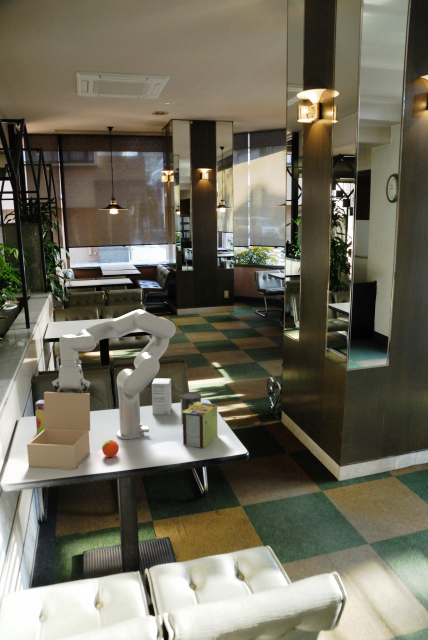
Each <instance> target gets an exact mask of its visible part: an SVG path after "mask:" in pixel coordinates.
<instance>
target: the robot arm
mask: <svg viewBox="0 0 428 640" xmlns="http://www.w3.org/2000/svg"><path fill="white" fill-rule="evenodd" d="M137 330H141V331H142V332H145V333H148V334H150V335H152V337H151V339H150V341H149V342H148V343H147V344H146V346H144V348H143V349H142V350H141V351H140V352H139V353H137V355H136V357H135V358H134V360H133V366H134V367H135V368H134V370H133V369H132V368H124V369H122V370H121V371H119V373H118V374H117V376H116V384H117V395H118V412H119V413H118V414H119V415H118V417H119V430H117V432H116V436H117V438H119V439H123V440H134V439H139V438H141V437H143V436H144V433H149V432H150V428H149V427H148V426H143V423H141V411H140V410H141V407H140V394H141V392H143V391H144V390H145V388H146V387H147V386H148V385H149V384H150V383H151V382H153V380H154V378H155V377H156V376H157V375H158V373H159V370H160V365H161V364H160V361H159V360H160V359H161V358H162V356H163V355H164V353H165V352H166V351H167V349H168V346H169V344H170V339H171V338H173V336H174V335H175V334H176V332H177V328H176V325H175V323H174V322H172V321H171V320H170V319H167V318H165V317H162V316H157V315H155V314H152V313H150V312H148V311H147V310H143V309H140V308H139V309H136V310H133V311H130V312H128V313H125V314H123V315H121V316H119V317H117V318H113V319H111V320H108V321H104V322H101V323H97V324H95V325H92V326H90V327H88V328H87V327H86V328H84V329H82V330H81V331H79V332H77V334H76V335H75V334H63V335H61V336H60V337H59V352H60V355H59V356H60V365H59V369H58V378H57V379H54V380H52V381H51V384H52V385H53V387H54V389H55V390H56V392H62V393H65V392H64V389H74V390H75V389H78V390H79V391H80V393H86V391H87V390H88V389H89V387H90V385H91V381H89V380H87V379H85V378H84V372H83V369H82V365H81V364H82V363H83V361H82V360H81V359H80V358H79V352H91V351H93V350H94V349H96V347H97V342H98V341H101V340H104V339H117V338H122V337H123V336H126V335H128V334H131V333H132V332H135V331H137ZM84 384H85V386H84Z"/></svg>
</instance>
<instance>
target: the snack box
mask: <svg viewBox="0 0 428 640" xmlns="http://www.w3.org/2000/svg"><path fill="white" fill-rule="evenodd" d="M34 409H35V423H36V432H37V433H38V434H39V433H41V432H42V431H43V430H44V429H45V425H44V399H38V400H37V401H36V402H35V403H34Z"/></svg>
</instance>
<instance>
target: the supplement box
mask: <svg viewBox="0 0 428 640" xmlns="http://www.w3.org/2000/svg"><path fill="white" fill-rule="evenodd" d="M151 382H152V383H151V398H152V399H151V403H152V405H151V406H152V407H151V408H152V415H170V414H171V411H172V407H173V406H172V379H171V378H169V377H168V378H161V377H160V378H157V377H156V378H155V377H154V378H153V379H152V381H151Z"/></svg>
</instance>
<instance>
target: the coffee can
mask: <svg viewBox="0 0 428 640" xmlns="http://www.w3.org/2000/svg"><path fill="white" fill-rule="evenodd" d="M196 402H202V394H201V393H198V392H195V391H194V392H192V391H191V392H190V391H189V392H183V393H181V394H180V423H181V425H183V412H184V411H185V410H187V409H188V408H189V407H191V406H192V405H194V404H195V403H196Z"/></svg>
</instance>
